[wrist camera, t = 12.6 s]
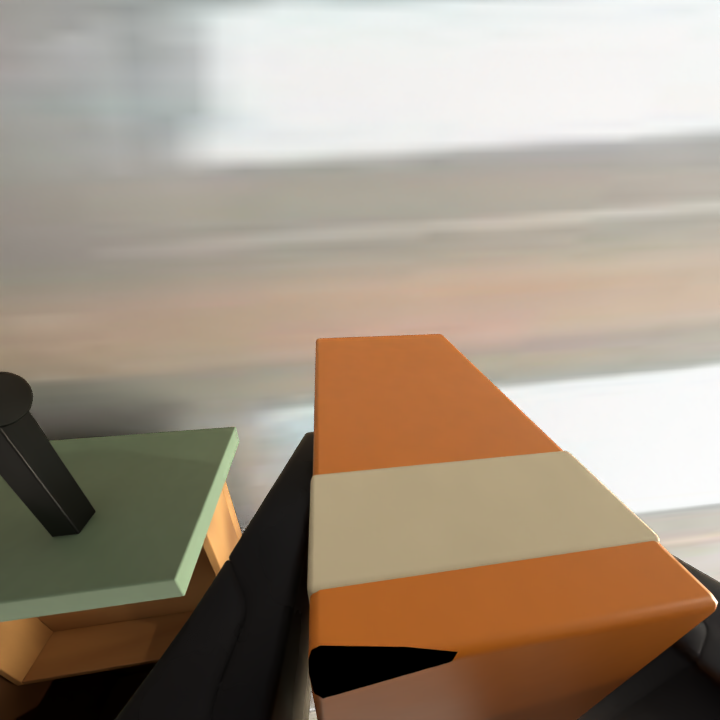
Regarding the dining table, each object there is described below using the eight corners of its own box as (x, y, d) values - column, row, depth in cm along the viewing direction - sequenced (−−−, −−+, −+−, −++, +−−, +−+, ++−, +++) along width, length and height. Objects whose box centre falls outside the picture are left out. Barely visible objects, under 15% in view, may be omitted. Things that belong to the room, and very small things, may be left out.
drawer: (-314, 327, 9) (-1427, 523, 3) (208, 313, 11) (86, 421, 5) (37, 626, 19) (-84, 803, 13) (276, 591, 21) (260, 732, 15)
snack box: (314, 336, 7) (302, 684, 2) (442, 332, 8) (734, 602, 2) (324, 483, 10) (331, 808, 4) (419, 474, 10) (530, 758, 5)
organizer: (21, 578, 18) (-209, 857, 10) (272, 546, 20) (242, 760, 12) (116, 668, 26) (25, 872, 18) (293, 639, 27) (283, 810, 20)
